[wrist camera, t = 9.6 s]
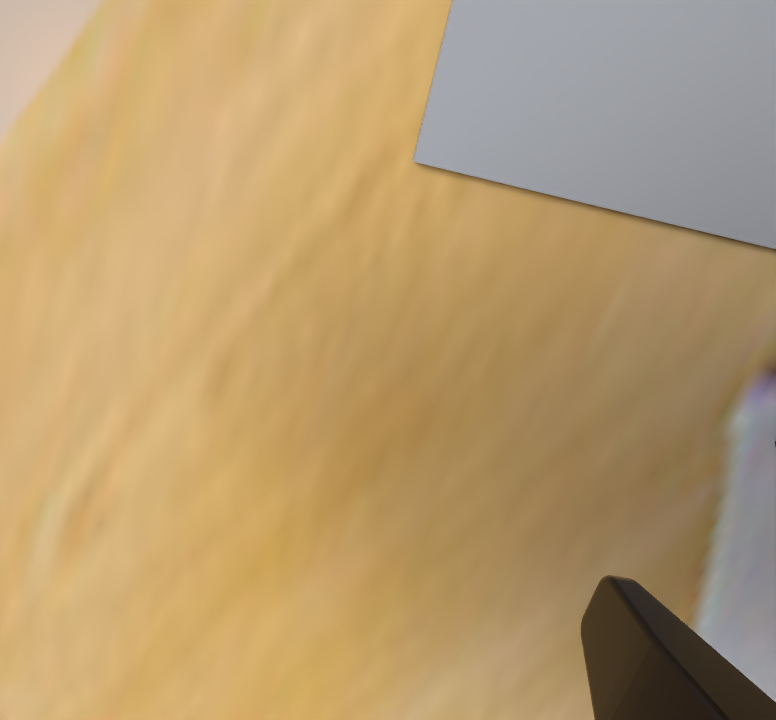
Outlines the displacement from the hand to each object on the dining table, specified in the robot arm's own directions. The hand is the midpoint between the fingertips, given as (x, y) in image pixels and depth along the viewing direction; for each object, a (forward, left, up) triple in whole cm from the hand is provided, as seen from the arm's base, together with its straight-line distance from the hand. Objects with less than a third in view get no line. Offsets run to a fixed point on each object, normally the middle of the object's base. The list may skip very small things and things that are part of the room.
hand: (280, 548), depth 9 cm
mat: (-8, -8, -13) cm, 17 cm away
